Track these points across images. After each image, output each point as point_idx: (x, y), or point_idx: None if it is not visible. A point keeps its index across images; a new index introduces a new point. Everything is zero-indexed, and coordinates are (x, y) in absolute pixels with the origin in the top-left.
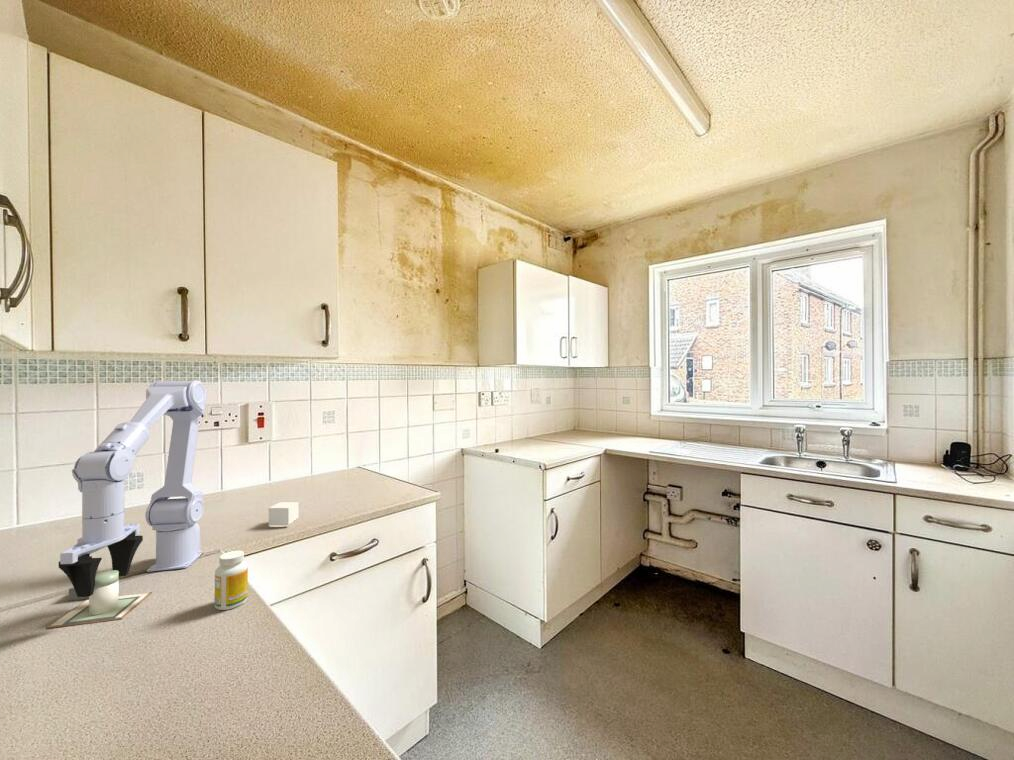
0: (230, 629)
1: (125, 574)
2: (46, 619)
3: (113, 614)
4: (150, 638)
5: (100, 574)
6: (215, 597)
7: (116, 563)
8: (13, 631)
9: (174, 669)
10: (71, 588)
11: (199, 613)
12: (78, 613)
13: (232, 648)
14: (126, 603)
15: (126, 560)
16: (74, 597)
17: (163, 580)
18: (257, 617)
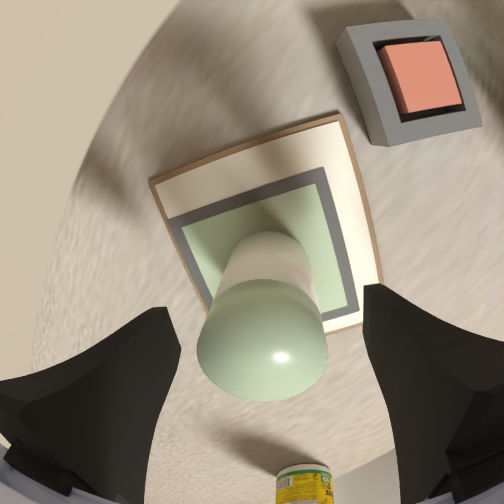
0: (226, 490)
1: (364, 338)
2: (201, 105)
3: None
4: (180, 438)
5: (267, 336)
6: (281, 488)
7: (389, 335)
8: (130, 86)
9: None
10: (349, 36)
11: (268, 458)
12: (235, 201)
13: (191, 495)
14: None
15: (388, 391)
16: (344, 58)
17: (470, 273)
18: (259, 499)
